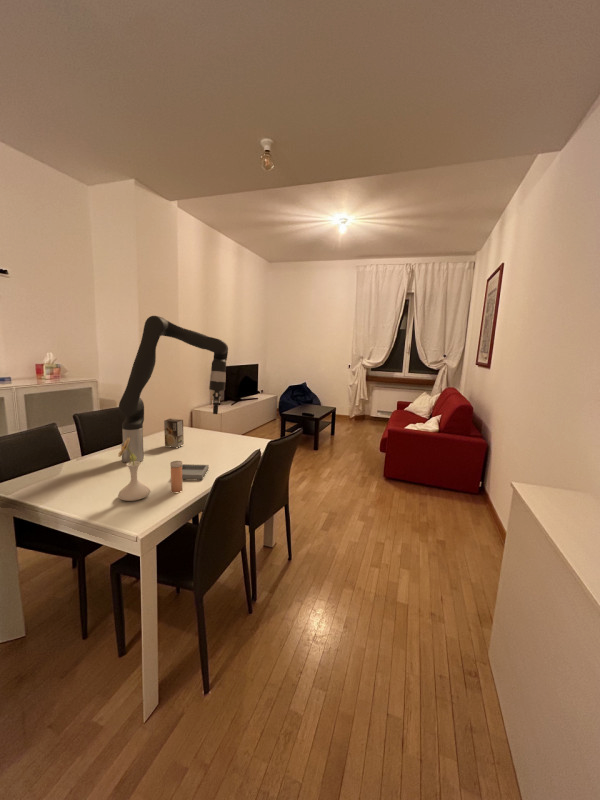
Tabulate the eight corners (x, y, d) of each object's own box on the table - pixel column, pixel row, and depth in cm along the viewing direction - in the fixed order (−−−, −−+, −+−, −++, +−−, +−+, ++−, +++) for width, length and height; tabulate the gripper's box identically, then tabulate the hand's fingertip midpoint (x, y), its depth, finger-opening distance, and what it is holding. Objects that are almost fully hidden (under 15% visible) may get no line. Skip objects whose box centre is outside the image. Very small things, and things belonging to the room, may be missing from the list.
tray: (172, 479, 147) (172, 474, 147) (181, 469, 160) (181, 464, 160) (202, 480, 148) (202, 474, 147) (208, 469, 161) (208, 464, 160)
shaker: (169, 493, 134) (168, 464, 132) (173, 488, 138) (172, 460, 136) (180, 493, 134) (180, 464, 132) (184, 488, 138) (183, 460, 137)
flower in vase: (126, 490, 134) (123, 431, 130) (154, 491, 135) (153, 432, 131) (110, 505, 121) (107, 440, 118) (142, 506, 122) (139, 441, 118)
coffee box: (184, 445, 197) (183, 419, 195) (178, 448, 191) (177, 421, 189) (170, 444, 199) (170, 418, 197) (164, 447, 193) (163, 420, 191)
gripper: (210, 380, 168) (207, 412, 169) (209, 379, 155) (207, 414, 155) (225, 381, 170) (222, 413, 170) (225, 381, 157) (223, 415, 157)
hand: (215, 413), depth 163 cm, fingers open, 8 cm apart
